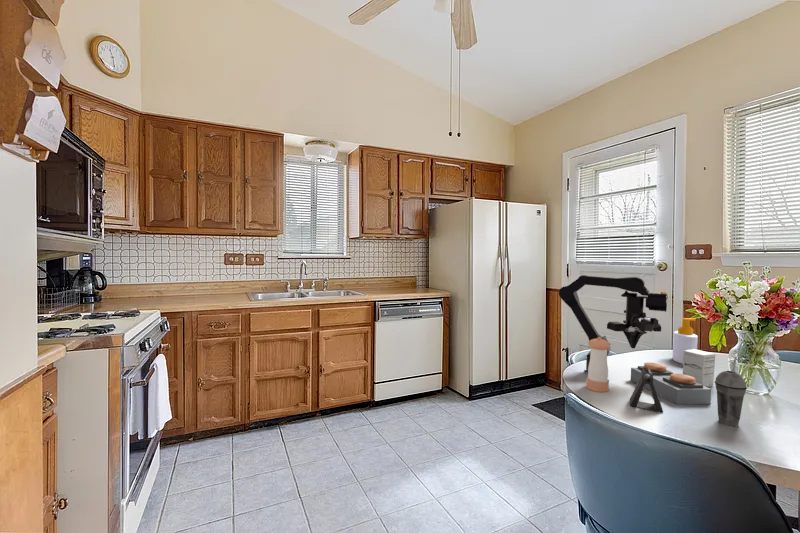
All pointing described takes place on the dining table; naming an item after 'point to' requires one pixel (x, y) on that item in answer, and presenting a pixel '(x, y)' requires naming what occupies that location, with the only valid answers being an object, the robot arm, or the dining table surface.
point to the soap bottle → (684, 340)
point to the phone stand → (638, 390)
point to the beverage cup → (730, 396)
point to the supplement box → (699, 366)
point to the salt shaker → (598, 366)
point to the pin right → (682, 379)
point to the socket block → (674, 388)
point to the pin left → (655, 367)
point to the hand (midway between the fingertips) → (632, 348)
